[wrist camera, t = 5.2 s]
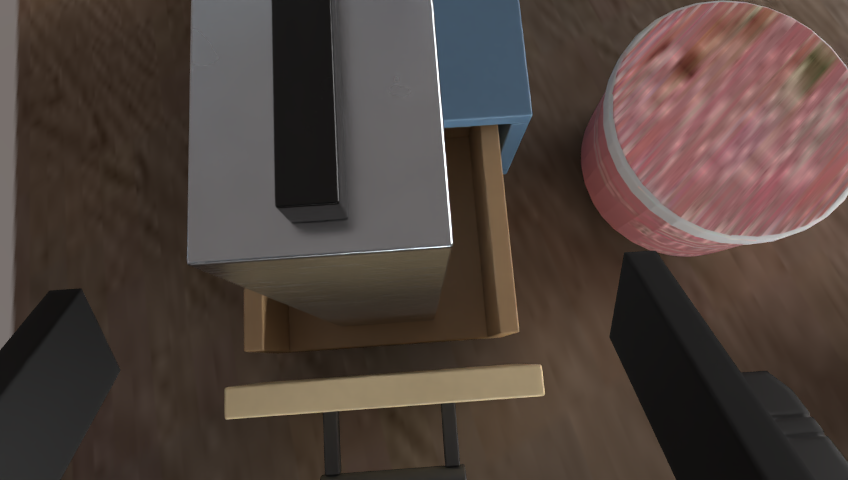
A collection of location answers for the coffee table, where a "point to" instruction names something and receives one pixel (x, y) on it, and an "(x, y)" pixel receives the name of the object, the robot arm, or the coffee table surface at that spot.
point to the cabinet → (484, 68)
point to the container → (719, 131)
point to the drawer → (409, 327)
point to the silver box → (320, 155)
